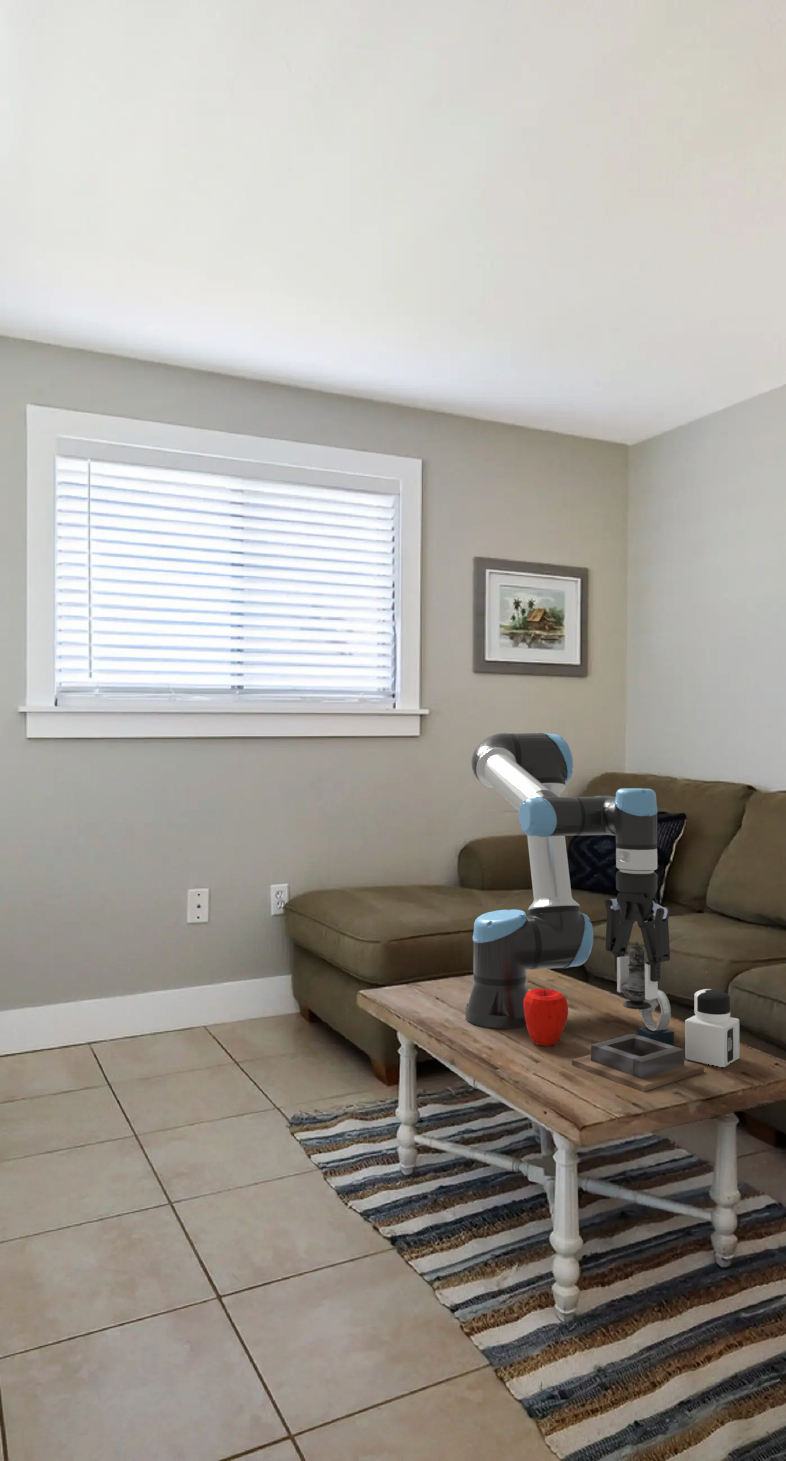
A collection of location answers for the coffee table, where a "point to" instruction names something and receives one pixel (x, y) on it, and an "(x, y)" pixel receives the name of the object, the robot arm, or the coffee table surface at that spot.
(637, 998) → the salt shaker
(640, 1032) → the watch
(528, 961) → the robot arm
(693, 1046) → the container
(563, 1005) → the apple
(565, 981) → the coffee table surface
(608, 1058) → the holder
